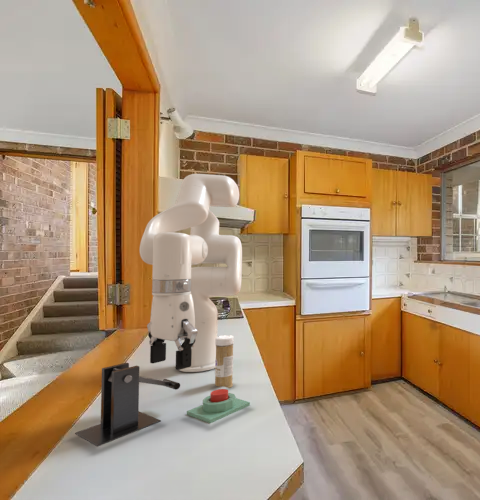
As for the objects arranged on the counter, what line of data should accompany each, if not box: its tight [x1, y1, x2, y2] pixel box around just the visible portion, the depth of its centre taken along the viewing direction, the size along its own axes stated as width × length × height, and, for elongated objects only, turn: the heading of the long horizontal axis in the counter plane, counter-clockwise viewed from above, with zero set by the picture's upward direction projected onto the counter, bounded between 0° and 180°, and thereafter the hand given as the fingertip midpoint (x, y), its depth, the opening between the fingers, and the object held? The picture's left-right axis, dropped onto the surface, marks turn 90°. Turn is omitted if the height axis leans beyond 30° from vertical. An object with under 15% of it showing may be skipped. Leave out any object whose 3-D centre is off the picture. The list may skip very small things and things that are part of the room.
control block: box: [186, 392, 251, 424], centre depth 77 cm, size 10×8×4 cm
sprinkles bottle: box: [214, 334, 235, 389], centre depth 93 cm, size 5×5×14 cm
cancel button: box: [209, 388, 229, 402], centre depth 77 cm, size 4×4×2 cm
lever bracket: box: [74, 362, 162, 447], centre depth 69 cm, size 11×9×13 cm
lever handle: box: [108, 368, 181, 391], centre depth 73 cm, size 13×5×2 cm, turn 150°
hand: (170, 364), depth 78 cm, fingers open, 9 cm apart
